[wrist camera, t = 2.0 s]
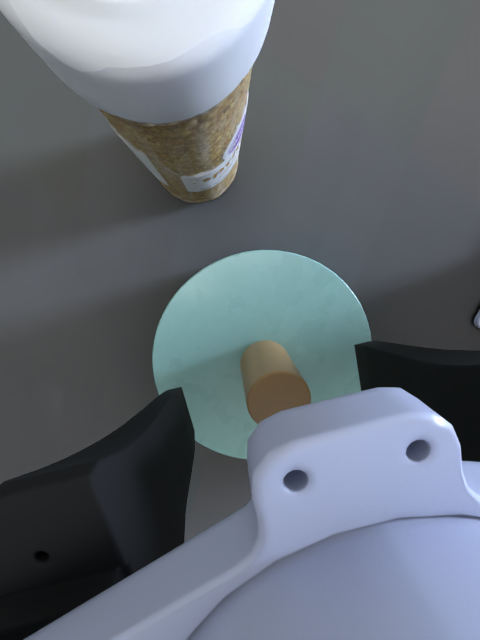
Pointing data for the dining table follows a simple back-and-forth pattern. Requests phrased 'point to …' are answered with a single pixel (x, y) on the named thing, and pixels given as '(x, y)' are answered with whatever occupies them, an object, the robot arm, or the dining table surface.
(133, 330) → the dining table surface
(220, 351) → the tin lid
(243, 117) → the sprinkles bottle
